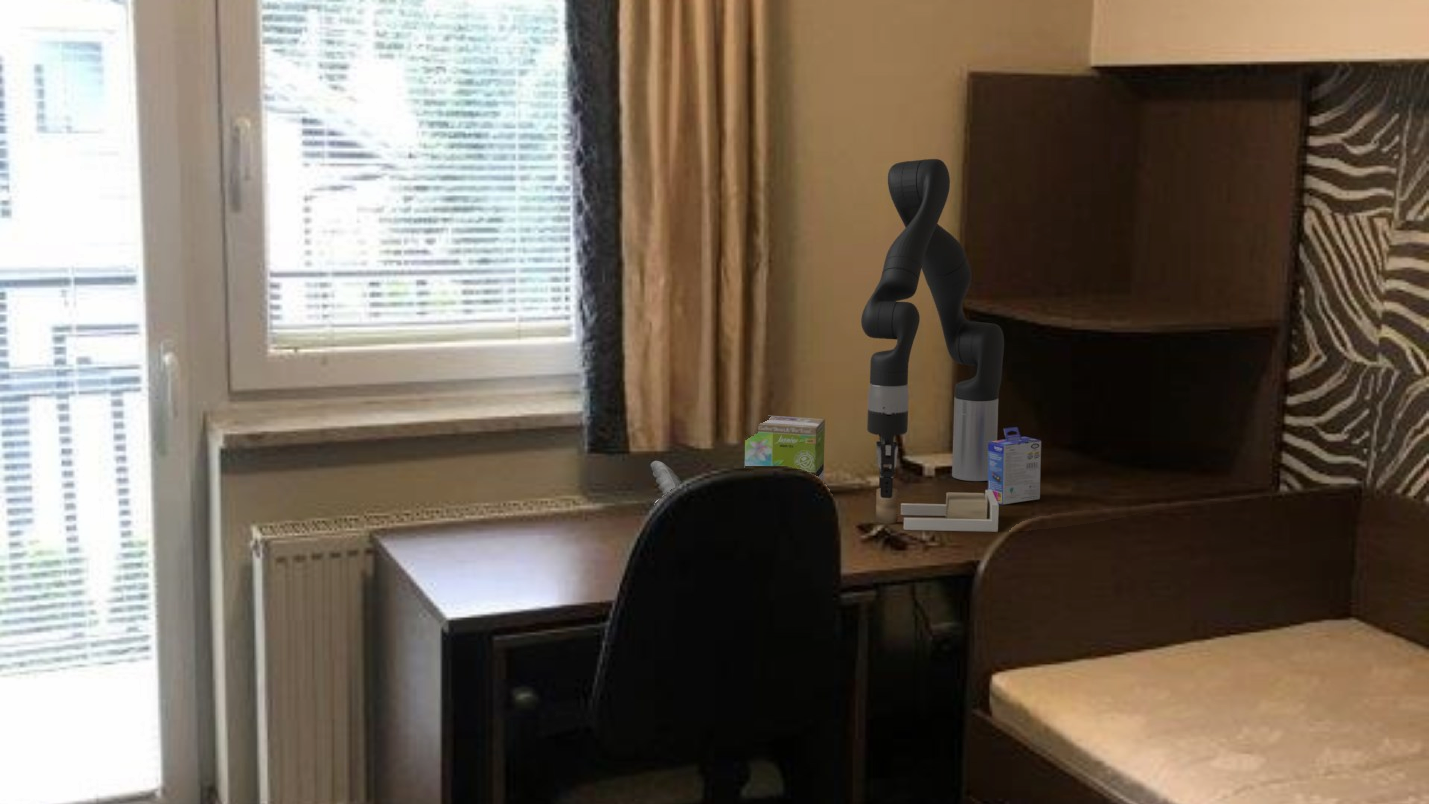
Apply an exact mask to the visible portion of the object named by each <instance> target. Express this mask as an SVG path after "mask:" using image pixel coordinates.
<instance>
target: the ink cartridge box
mask: <svg viewBox="0 0 1429 804" xmlns="http://www.w3.org/2000/svg"><path fill="white" fill-rule="evenodd" d="M1002 430H1003V433H1004V438H1005V439H999V440H998V439H997V441H990V442H988V481H987V490H992V492H993V494H994V496H995V498H996V501H997V503H998V505H1011V504H1015V503H1023V502H1029V501H1035V500H1040V498H1041V465H1042V464H1041V461H1042V460H1041V459H1042V457H1041V456H1042V455H1041V454H1042V440H1041V439H1037V438H1034V437H1031V436H1030V437H1028V436H1021V433H1020V431H1019V428H1018V427H1017V426H1014V427H1005V428H1003V429H1002ZM1009 432H1015V433H1016V434H1008V433H1009Z"/></svg>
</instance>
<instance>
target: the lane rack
mask: <svg viewBox="0 0 1429 804" xmlns="http://www.w3.org/2000/svg"><path fill="white" fill-rule="evenodd" d="M984 491H985V492H984V495H985V498H986V500H987V519H945V518H946V503H944V504H943V503H906V502H905V503H900V515H901V516H924V517H931V516H932V517H933V516H934V517H935V516H936V517H939V518H904V522H903V530H905V531H906V530H907V531H944V532H945V531H946V532H947V531H950V532H952V531H953V532H988V533H989V532H993V533H994V532H998V531H999V505H1000V504H999V503H997V501H996V498H995V496H994V494H993V492H992V490H988V489H985V490H984Z"/></svg>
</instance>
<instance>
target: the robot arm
mask: <svg viewBox="0 0 1429 804" xmlns="http://www.w3.org/2000/svg"><path fill="white" fill-rule="evenodd" d="M950 179H951V177H950V173H949V169H948V167H947V164H945V162H944V161H943V160H941V159H938V158H929V159H917V160H916V159H915V160H906V161H901V162H896V163H895V164H893V165H891V167H890V168H889V169H888V174H887V186H888V191H889V194H890V197H891V200H892V203H893V205H894V207H895V209H896V211H897V213H898V215H899V217H900V220H901V221H902V224H903V225H904V229H903V230H902V231H901V233H900V234H899V235H898V236H897V237H896V238H895V239H894V241H893V242H892V244H891V245H890V247H889V248H888V250H887V253H886V256H885V258H884V259H885V260H884V263H883V268H882V272H881V275H880V280H879V281H878V284H877V285H876V287H875V289H874V291H873V293H872V294H871V296H870V297H869V299H868V300H867V302H866V305H865V306H864V309H863V311H862V313H861V319H860V323H861V327H862V331H863V332H864V334H865V335H866V336H867V337H869V338H872V339H879V340H880V339H881V340H882V339H883V340H884V339H885V340H896V341H897V342H896V345H895V346H894V348H893V349H890V350H889V349H888V350H881V351H877V352H874V353H873V354H872V355H871V357H870V364H869V365H870V370H869V389H868V394H867V395H868V396H867V423H866V424H867V426H866V427H867V429H866V430H867V432H868V433H870V434H872V435H876V436H879V438H878V439H879V440H876V442H875V443H876V444H875V450H876V460H877V467H878V468H879V470H878V471H879V473H878V474H879V475H878V476H879V477H878V478H879V479H878V486H879V488H881V490H880V495H881V497H882V498H891V497H892V492H893V487H894V483H893V482H894V477H895V476H896V472H895V468H896V467H897V454H898V453H899V452H898V451H899V446H898V445H899V443H898V441H895V439H894V438H895V436H903V435H906V434H907V433H908V430H909V429H908V428H909V427H908V425H909V399H910V397H909V396H910V395H909V389H908V388H909V387H908V383H909V381H908V380H909V361H910V356H911V351H912V348H913V344H914V341H915V338H916V335H917V332H918V329H919V325H920V318H921V317H920V313H919V310H918V308H917V307H916V305H915V304H913V303H912V302H909V301H903V300H908V299H910V298H912V297H913V296H914V295H915V294H916V292H917V290H918V285H919V281H920V277H921V273H922V272H923V273H922V274H923V276H924V279H925V282H926V283H927V286H928V289H929V290H930V293H931V296H932V299H933V301H934V305H935V308H936V311H937V313H938V316H939V320H940V324H941V329H942V333H943V337H944V341H945V344H946V348H947V350H948V354H949V356H950V358H951V359H952V360H953V361H954V362H955V363H957V364H958V365H959V364H960V365H964V366H965V365H967V366H974V367H977V370H976V374H975V375H974V377H972V378H970V379H966V380H963V381H960V382H957V383H956V384H955V387H954V399H953V400H954V402H953V403H954V404H953V436H952V439H953V440H952V466H951V467H952V469H951V477H953V478H954V479H957V480H961V481H967V482H985V481H986V482H988V442H990V441H997V440H998V425H999V423H998V421H999V397H1000V396H999V393H1000V387H1001V383H1002V376H1003V375H1002V374H1003V364H1004V363H1003V362H1004V351H1005V337H1004V336H1005V335H1004V332H1003V330H1002V328H1001V327H1000V325H998V324H996V323H991V322H983V321H982V322H981V321H980V322H979V321H970V320H969V319H967V317H966V316H965V315H966V314H965V312H964V310H963V309H964V308H963V302H964V299H965V297H966V295H967V293H968V291H969V289H970V285H971V281H972V269H971V267H970V263H969V260H968V258H967V254H966V252H965V250H964V249H965V248H964V247H963V245H962V244H961V243H960V241H958V240H957V238H956V237H954V235H952V234H951V233H950V232H948V230H946V229H945V228H944V227H942V226H941V225H939V224H938V223H939V220H940V218H941V216H942V213H943V211H944V209H945V205H946V203H947V201H948V197H949V192H950V189H951V188H950V186H951V185H950V184H951V182H950V181H951V180H950Z"/></svg>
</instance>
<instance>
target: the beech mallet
mask: <svg viewBox="0 0 1429 804" xmlns="http://www.w3.org/2000/svg"><path fill="white" fill-rule="evenodd" d="M875 490H876V493H875V494H876V497H875V498H876V500H875V501H876V503H875V522H876V523H879V524H886V525H890V524H891V525H892V524H896V523H904V518H940V516H936V517H935V516H934V517H933V516H932V517H931V516H898V504H899V503H898V498H899V497H898V496H899V490H898V489H897V488H893V492H892V497H891V498H882V497H881V495H880V490H881V487H879V488H876V489H875ZM945 497H946V498H945V504H946V516H945V517H944V518H945V519H987V500H986V498H985V492H949V491H948V492H946V496H945Z"/></svg>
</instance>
